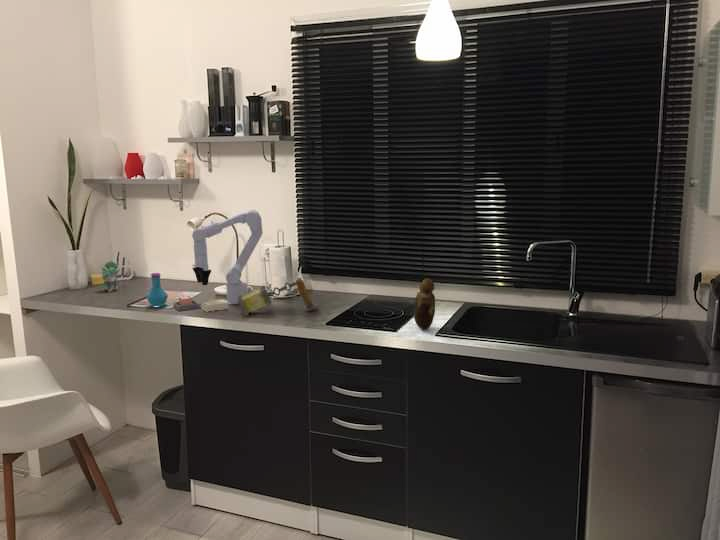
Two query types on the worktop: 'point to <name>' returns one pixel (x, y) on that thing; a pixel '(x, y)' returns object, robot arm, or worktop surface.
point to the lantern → (262, 299)
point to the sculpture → (425, 304)
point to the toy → (110, 276)
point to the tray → (186, 306)
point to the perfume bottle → (156, 292)
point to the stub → (185, 300)
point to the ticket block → (214, 305)
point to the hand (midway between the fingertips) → (202, 283)
